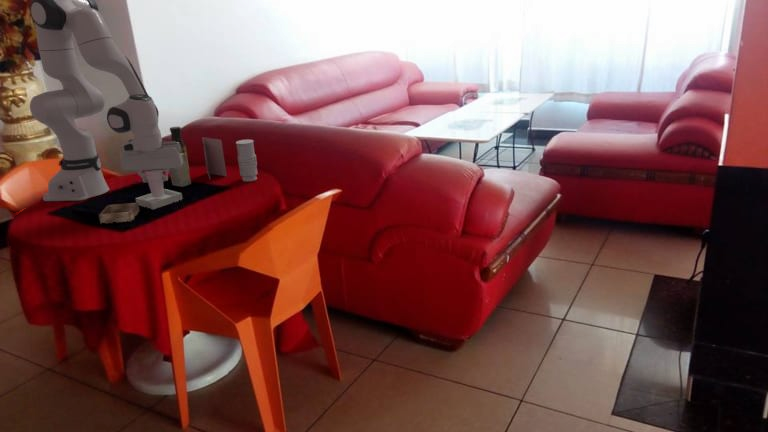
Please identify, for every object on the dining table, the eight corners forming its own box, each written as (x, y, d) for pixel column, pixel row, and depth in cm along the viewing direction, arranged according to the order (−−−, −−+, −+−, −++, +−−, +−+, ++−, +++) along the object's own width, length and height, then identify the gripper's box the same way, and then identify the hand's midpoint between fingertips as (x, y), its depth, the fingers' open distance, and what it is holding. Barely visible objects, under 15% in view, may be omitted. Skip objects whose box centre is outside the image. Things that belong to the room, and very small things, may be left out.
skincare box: (191, 184, 231) (186, 153, 227) (182, 187, 228) (177, 156, 223) (180, 182, 234) (175, 151, 230) (171, 185, 231) (166, 154, 227)
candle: (256, 181, 231) (251, 143, 225) (238, 182, 231) (233, 144, 226) (260, 176, 237) (255, 139, 232) (242, 176, 237) (238, 139, 232)
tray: (152, 209, 205) (151, 202, 204) (136, 204, 210) (135, 198, 210) (182, 199, 214) (181, 193, 213) (166, 195, 219) (165, 188, 218)
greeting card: (205, 173, 245) (199, 137, 239) (223, 170, 247) (218, 135, 242) (208, 180, 235) (202, 143, 229) (227, 177, 237) (222, 140, 232)
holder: (100, 223, 194) (98, 215, 193) (109, 213, 203) (107, 205, 202) (132, 221, 195) (130, 212, 194) (139, 210, 204) (137, 202, 203)
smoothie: (161, 199, 208) (155, 160, 203) (144, 198, 209) (138, 159, 204) (171, 193, 213) (165, 155, 209) (155, 193, 215) (148, 155, 210)
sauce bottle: (181, 178, 239) (172, 129, 232) (170, 176, 242) (162, 128, 235) (193, 174, 244) (186, 126, 237) (183, 172, 247) (175, 125, 240)
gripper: (181, 138, 209) (187, 176, 213) (120, 142, 206) (128, 180, 211) (178, 142, 203) (184, 181, 208) (115, 147, 200) (123, 186, 205)
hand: (155, 181), depth 209 cm, fingers closed on smoothie, 5 cm apart
